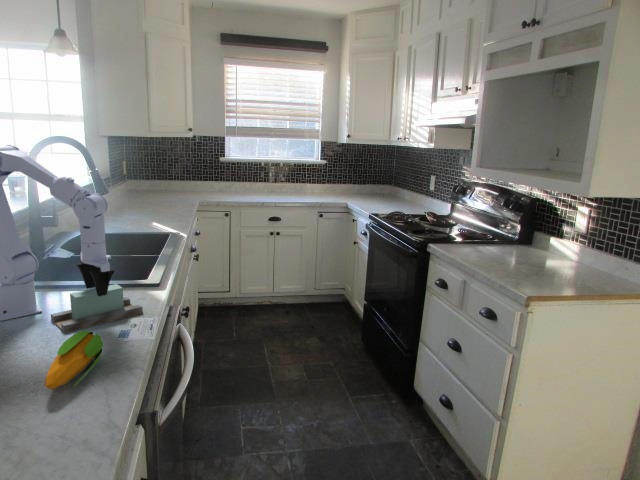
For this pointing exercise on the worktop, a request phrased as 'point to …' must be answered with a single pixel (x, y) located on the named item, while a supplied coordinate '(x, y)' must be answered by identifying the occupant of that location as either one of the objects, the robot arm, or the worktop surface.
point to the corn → (74, 358)
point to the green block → (96, 302)
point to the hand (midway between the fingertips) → (96, 291)
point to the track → (93, 317)
